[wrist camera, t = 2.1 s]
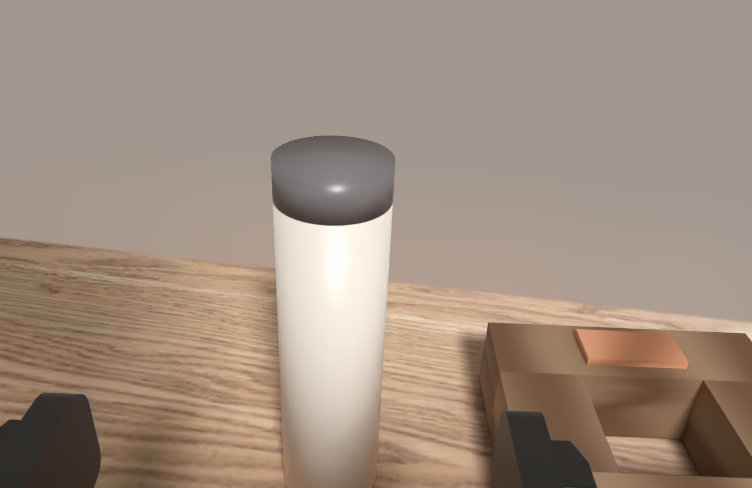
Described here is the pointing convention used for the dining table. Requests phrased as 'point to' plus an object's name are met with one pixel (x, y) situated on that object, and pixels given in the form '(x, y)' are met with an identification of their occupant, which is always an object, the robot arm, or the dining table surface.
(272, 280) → the dining table surface
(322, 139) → the plug
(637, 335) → the socket block
